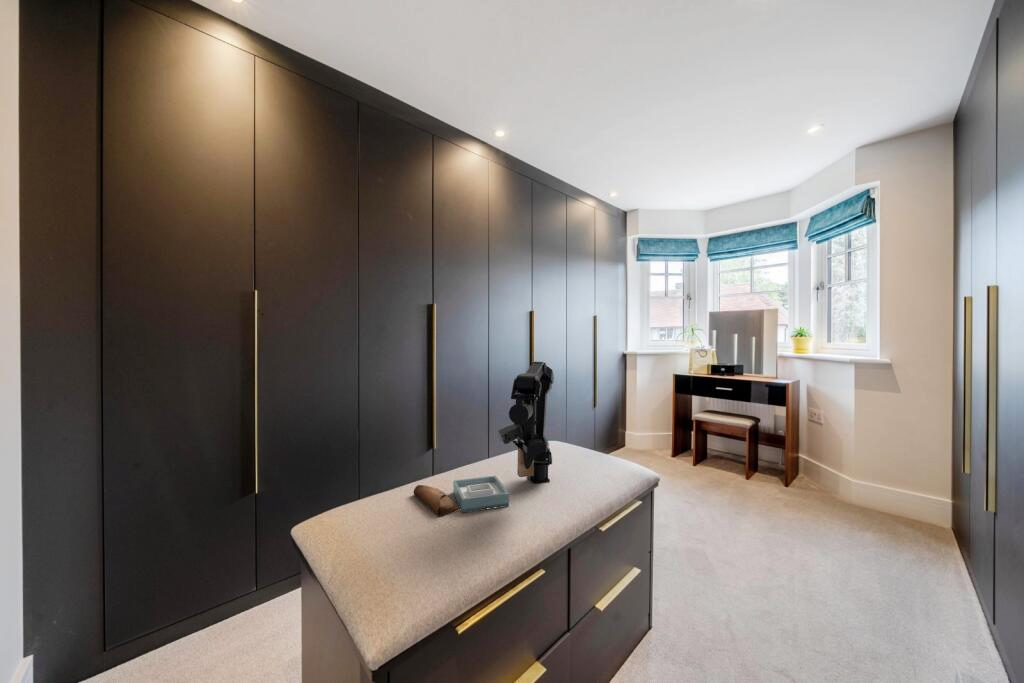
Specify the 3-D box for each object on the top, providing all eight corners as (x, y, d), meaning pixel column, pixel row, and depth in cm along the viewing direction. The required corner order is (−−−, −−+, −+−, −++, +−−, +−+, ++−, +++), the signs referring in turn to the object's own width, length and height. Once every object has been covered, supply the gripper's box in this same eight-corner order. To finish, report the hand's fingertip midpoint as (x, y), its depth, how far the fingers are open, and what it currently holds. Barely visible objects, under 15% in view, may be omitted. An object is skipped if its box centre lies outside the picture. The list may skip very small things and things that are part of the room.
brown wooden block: (530, 472, 118) (531, 447, 117) (533, 475, 115) (534, 449, 115) (517, 474, 116) (517, 448, 116) (520, 477, 114) (520, 451, 114)
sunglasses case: (463, 509, 114) (453, 493, 111) (445, 527, 110) (434, 511, 108) (436, 488, 128) (427, 474, 126) (419, 504, 124) (409, 489, 122)
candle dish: (495, 486, 130) (495, 475, 130) (508, 506, 116) (509, 493, 116) (453, 492, 125) (453, 480, 125) (461, 513, 112) (462, 499, 111)
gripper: (492, 411, 121) (492, 459, 122) (511, 426, 104) (510, 482, 104) (525, 409, 125) (524, 456, 126) (548, 423, 107) (547, 477, 108)
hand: (525, 467), depth 116 cm, fingers closed on brown wooden block, 2 cm apart
